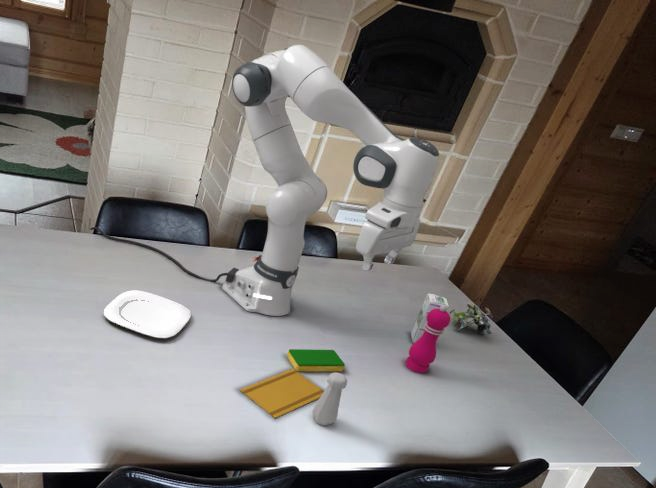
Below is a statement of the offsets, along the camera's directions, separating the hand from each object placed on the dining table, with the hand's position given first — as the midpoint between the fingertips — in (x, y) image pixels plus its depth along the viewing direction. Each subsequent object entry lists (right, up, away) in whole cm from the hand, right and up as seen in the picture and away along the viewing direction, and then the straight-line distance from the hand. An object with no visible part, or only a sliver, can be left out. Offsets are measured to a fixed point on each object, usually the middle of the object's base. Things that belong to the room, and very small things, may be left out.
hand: (377, 266), depth 156 cm
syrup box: (+25, -17, +40) cm, 50 cm away
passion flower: (+44, -14, +51) cm, 69 cm away
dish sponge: (-12, -24, +18) cm, 32 cm away
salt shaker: (-14, -37, -3) cm, 40 cm away
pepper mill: (+19, -25, +26) cm, 41 cm away
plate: (-57, -11, +22) cm, 62 cm away
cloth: (-22, -31, +4) cm, 38 cm away
